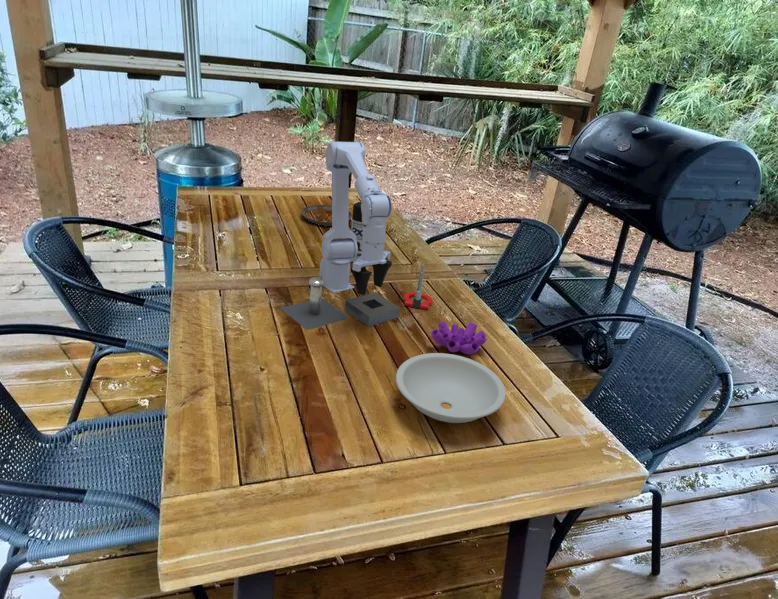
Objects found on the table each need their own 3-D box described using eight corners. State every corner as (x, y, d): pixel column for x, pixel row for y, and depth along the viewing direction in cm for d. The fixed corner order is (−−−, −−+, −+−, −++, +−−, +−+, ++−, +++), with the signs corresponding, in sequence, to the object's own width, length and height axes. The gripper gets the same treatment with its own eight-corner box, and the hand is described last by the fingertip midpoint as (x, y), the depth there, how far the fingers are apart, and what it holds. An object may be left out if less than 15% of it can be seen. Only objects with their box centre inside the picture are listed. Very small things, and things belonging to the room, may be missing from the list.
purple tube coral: (482, 364, 149) (494, 351, 140) (427, 362, 147) (435, 348, 138) (479, 325, 154) (489, 310, 145) (425, 322, 152) (433, 307, 143)
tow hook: (404, 293, 176) (400, 306, 167) (410, 252, 170) (407, 262, 161) (433, 298, 175) (430, 311, 166) (440, 257, 169) (438, 268, 160)
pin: (304, 311, 156) (306, 278, 152) (316, 308, 159) (318, 276, 154) (312, 317, 154) (314, 284, 149) (324, 314, 156) (326, 281, 152)
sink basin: (488, 457, 111) (495, 431, 108) (376, 421, 118) (380, 395, 115) (507, 393, 132) (513, 370, 129) (411, 365, 138) (415, 342, 135)
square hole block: (344, 311, 160) (345, 300, 158) (374, 302, 167) (375, 292, 165) (368, 327, 153) (369, 316, 151) (398, 318, 159) (400, 307, 158)
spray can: (345, 260, 193) (349, 204, 184) (353, 254, 199) (358, 200, 190) (362, 265, 191) (368, 209, 182) (370, 259, 197) (376, 204, 188)
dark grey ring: (349, 231, 221) (350, 223, 219) (297, 225, 220) (297, 217, 219) (353, 215, 239) (353, 207, 238) (304, 210, 238) (305, 202, 237)
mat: (279, 309, 156) (279, 308, 156) (321, 298, 165) (321, 297, 165) (306, 331, 147) (307, 330, 147) (349, 319, 156) (349, 317, 156)
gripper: (370, 250, 137) (366, 301, 142) (401, 239, 148) (396, 286, 153) (347, 244, 140) (344, 294, 145) (379, 233, 151) (375, 279, 157)
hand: (369, 289), depth 150 cm, fingers open, 7 cm apart
